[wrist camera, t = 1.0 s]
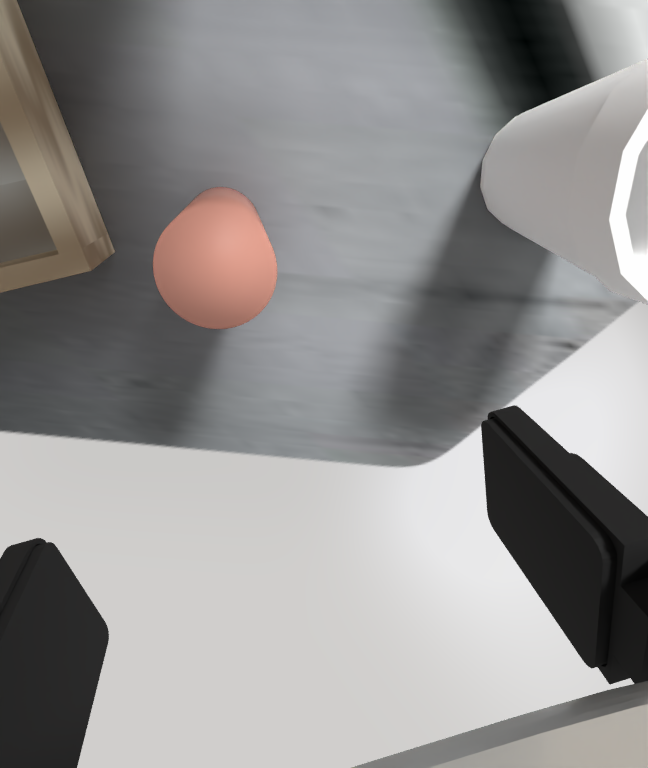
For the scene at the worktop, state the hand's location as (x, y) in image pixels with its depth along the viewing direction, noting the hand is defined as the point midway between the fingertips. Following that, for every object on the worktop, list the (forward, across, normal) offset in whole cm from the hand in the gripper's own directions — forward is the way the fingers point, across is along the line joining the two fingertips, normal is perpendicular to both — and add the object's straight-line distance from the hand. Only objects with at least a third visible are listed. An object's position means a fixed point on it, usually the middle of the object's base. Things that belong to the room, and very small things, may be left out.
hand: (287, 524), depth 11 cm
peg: (+20, +1, -4) cm, 21 cm away
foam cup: (+20, -17, -2) cm, 27 cm away
